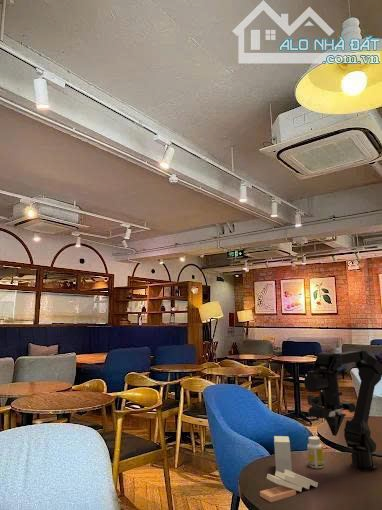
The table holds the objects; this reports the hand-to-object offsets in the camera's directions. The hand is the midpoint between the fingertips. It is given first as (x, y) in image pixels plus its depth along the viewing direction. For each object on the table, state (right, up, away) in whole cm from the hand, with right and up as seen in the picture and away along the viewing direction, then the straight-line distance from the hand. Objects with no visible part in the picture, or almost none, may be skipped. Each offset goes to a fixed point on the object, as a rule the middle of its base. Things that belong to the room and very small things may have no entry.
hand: (334, 435), depth 134 cm
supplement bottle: (-4, -15, +7) cm, 17 cm away
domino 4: (-11, -11, -9) cm, 18 cm away
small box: (-17, -15, +4) cm, 23 cm away
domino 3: (-14, -11, -11) cm, 21 cm away
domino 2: (-19, -11, -14) cm, 26 cm away
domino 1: (-17, -11, -12) cm, 23 cm away
